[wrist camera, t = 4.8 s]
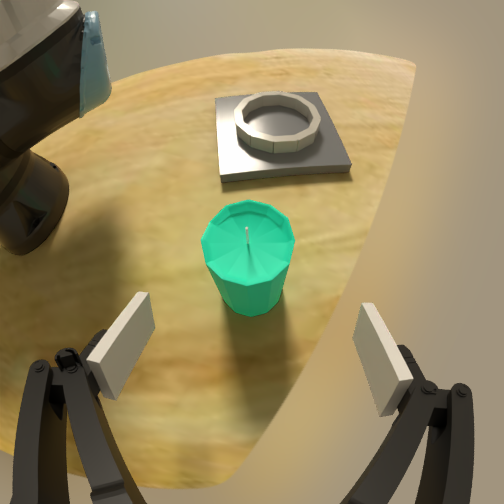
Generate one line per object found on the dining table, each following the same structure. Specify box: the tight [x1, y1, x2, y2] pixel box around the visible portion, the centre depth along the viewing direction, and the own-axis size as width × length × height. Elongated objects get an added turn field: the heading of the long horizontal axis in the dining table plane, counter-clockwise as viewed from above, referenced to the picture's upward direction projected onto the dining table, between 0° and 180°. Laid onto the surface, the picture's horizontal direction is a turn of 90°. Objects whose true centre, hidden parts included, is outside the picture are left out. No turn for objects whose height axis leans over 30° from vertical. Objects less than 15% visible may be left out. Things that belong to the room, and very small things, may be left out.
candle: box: [201, 200, 295, 317], centre depth 22 cm, size 6×6×12 cm
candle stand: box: [215, 91, 352, 183], centre depth 34 cm, size 16×16×4 cm
